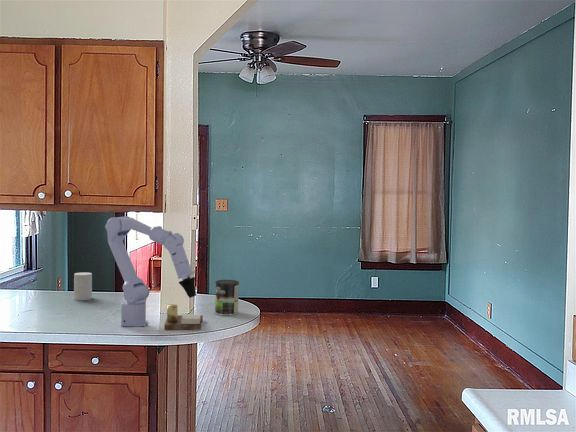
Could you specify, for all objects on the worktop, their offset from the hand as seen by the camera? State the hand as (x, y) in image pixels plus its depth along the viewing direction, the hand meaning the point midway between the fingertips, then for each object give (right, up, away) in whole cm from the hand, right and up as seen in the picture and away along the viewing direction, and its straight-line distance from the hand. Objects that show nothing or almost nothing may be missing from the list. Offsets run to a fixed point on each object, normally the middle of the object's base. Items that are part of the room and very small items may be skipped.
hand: (192, 296), depth 238 cm
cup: (-62, -9, +58) cm, 85 cm away
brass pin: (-9, -11, +6) cm, 16 cm away
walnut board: (-5, -13, +10) cm, 17 cm away
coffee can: (+10, -12, +33) cm, 36 cm away
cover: (-2, -11, +6) cm, 12 cm away
